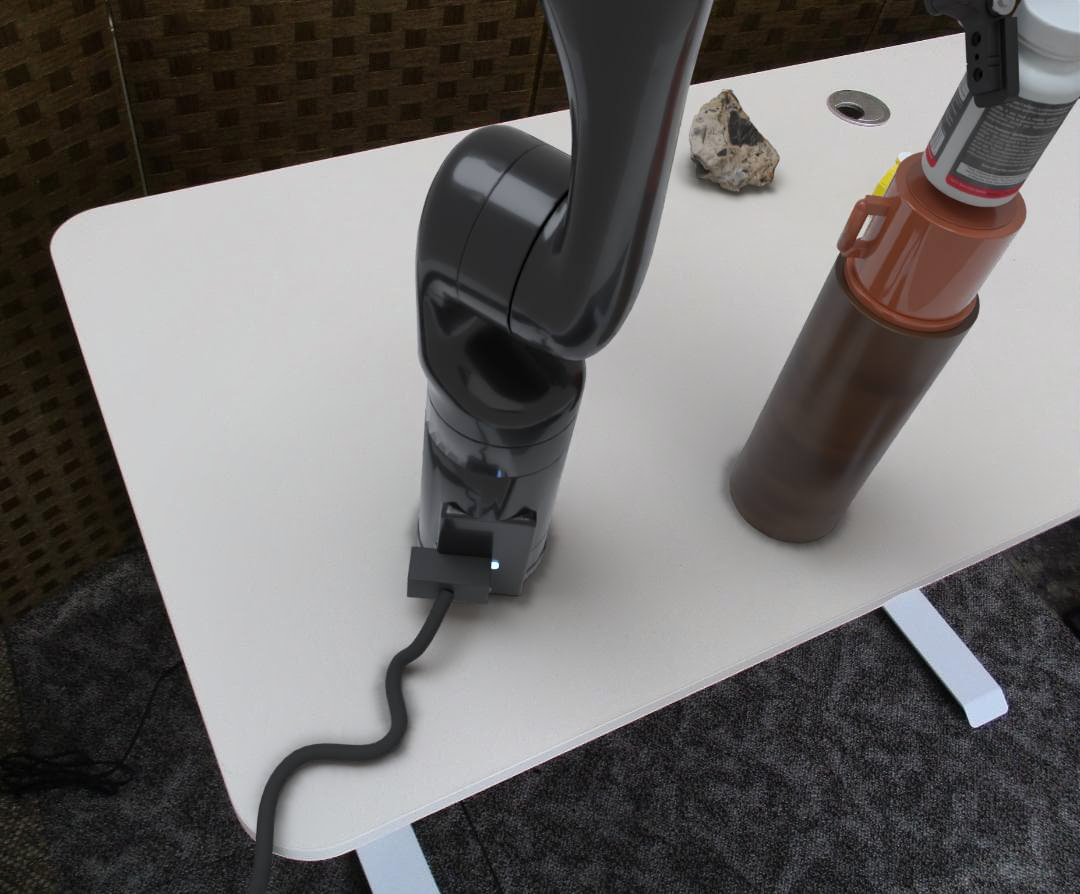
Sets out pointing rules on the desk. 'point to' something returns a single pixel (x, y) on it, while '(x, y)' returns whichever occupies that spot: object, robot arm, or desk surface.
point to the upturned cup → (924, 250)
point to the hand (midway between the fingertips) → (1047, 98)
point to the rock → (730, 145)
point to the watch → (889, 175)
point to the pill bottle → (1010, 112)
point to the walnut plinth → (834, 412)
